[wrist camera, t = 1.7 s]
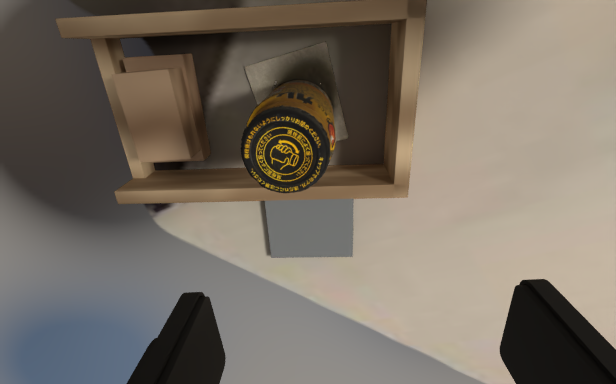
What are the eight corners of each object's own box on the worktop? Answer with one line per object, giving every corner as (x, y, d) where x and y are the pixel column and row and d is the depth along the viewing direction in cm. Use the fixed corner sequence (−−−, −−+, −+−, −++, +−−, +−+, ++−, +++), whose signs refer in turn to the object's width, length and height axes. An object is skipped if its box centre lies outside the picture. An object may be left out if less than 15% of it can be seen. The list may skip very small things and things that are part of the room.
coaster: (263, 181, 32) (262, 183, 31) (353, 179, 31) (353, 181, 31) (272, 254, 35) (271, 257, 35) (351, 253, 35) (352, 256, 34)
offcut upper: (129, 72, 26) (111, 74, 24) (181, 67, 25) (167, 69, 23) (154, 153, 29) (140, 162, 26) (201, 149, 28) (190, 158, 26)
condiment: (275, 156, 31) (248, 217, 20) (244, 66, 27) (192, 81, 16) (348, 137, 29) (363, 191, 19) (326, 41, 26) (328, 38, 15)
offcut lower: (138, 56, 28) (122, 57, 25) (193, 53, 27) (182, 54, 25) (163, 154, 31) (151, 162, 29) (212, 152, 31) (203, 160, 29)
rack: (101, 23, 26) (55, 18, 22) (408, 5, 25) (427, -4, 20) (147, 181, 32) (118, 203, 28) (395, 175, 31) (407, 197, 26)
